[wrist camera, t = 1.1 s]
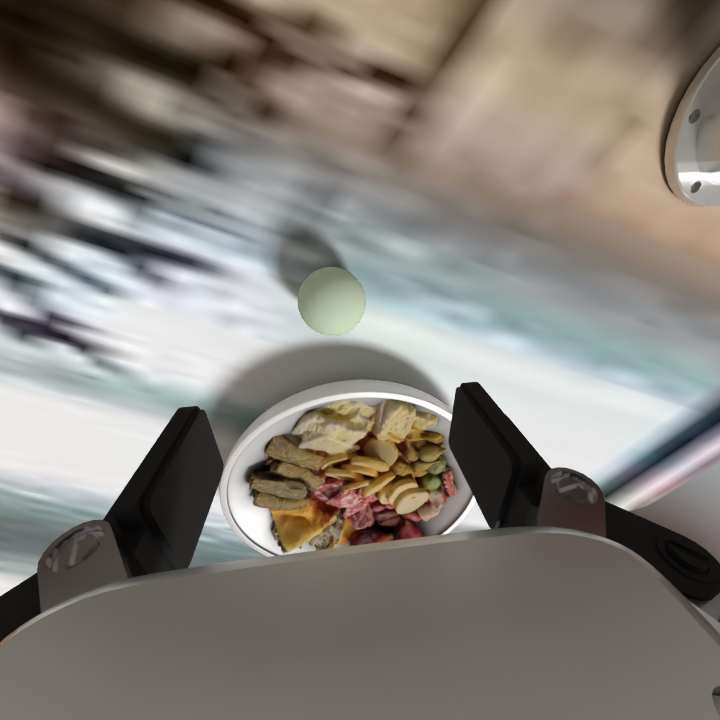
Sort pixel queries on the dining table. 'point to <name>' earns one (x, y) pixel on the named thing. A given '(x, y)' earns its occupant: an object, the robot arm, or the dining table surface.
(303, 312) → the sage ball
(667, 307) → the dining table surface
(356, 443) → the bowl
